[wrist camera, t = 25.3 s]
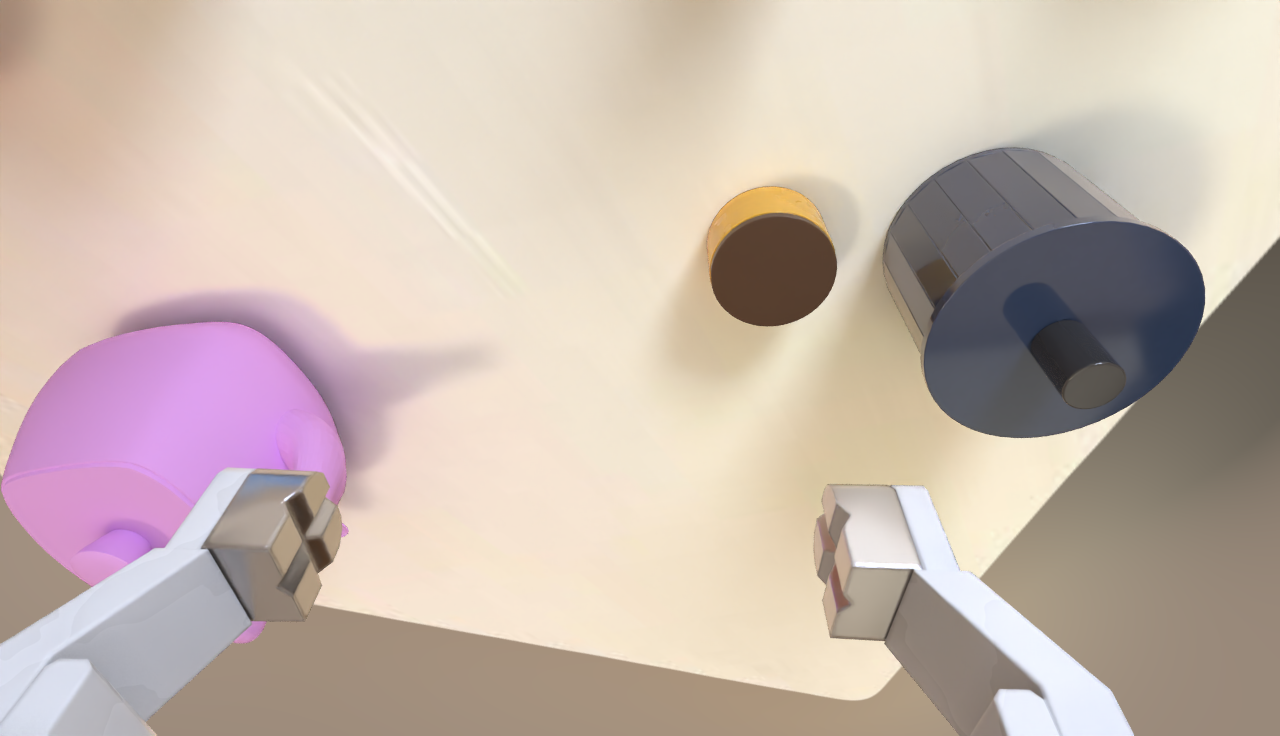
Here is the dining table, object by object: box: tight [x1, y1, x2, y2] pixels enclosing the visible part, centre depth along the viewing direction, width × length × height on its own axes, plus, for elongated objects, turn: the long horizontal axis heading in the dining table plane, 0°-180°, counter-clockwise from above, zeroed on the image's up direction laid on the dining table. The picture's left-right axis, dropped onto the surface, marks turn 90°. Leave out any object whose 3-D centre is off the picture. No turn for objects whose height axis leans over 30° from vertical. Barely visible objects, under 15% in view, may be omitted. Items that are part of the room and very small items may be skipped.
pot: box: [883, 148, 1140, 354], centre depth 37 cm, size 12×12×10 cm
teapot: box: [1, 322, 349, 643], centre depth 45 cm, size 23×21×15 cm
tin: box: [707, 187, 837, 326], centre depth 40 cm, size 7×7×4 cm
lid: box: [920, 216, 1205, 438], centre depth 32 cm, size 12×12×5 cm
